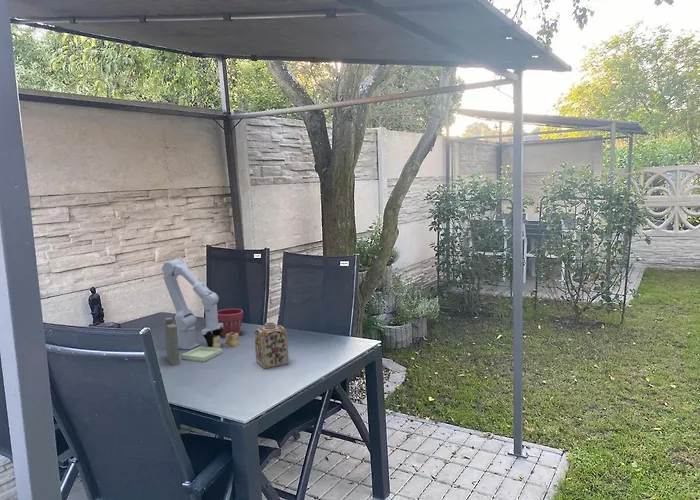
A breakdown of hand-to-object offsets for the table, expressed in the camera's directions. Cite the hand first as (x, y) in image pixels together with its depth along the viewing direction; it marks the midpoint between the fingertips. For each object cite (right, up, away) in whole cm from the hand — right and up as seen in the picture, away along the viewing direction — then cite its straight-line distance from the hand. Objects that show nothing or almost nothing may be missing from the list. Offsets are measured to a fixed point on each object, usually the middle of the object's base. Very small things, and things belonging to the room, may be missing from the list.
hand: (213, 345), depth 254 cm
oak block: (+9, -1, +4) cm, 9 cm away
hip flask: (-15, -4, -16) cm, 22 cm away
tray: (-2, -3, -11) cm, 12 cm away
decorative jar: (+32, -4, -24) cm, 41 cm away
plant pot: (+3, +1, +23) cm, 23 cm away
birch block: (0, -2, 0) cm, 2 cm away
